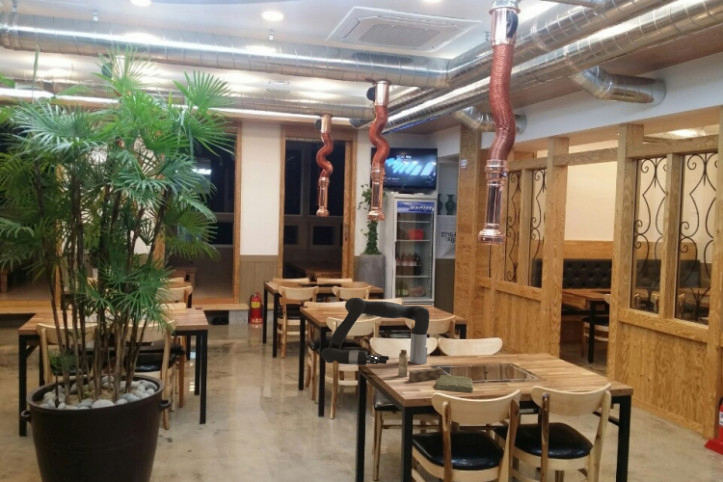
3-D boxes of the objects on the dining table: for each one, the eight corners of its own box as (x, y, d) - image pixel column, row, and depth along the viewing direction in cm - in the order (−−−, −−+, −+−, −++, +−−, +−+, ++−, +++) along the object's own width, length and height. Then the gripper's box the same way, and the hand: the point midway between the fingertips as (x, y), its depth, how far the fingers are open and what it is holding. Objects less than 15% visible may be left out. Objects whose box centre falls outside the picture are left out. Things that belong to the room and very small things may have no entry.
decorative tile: (471, 383, 333) (471, 376, 333) (472, 393, 313) (473, 386, 313) (435, 380, 335) (436, 373, 335) (434, 390, 315) (435, 383, 315)
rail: (437, 376, 342) (438, 367, 341) (442, 378, 338) (443, 369, 338) (408, 380, 330) (409, 371, 330) (413, 382, 327) (414, 372, 327)
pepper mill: (403, 374, 342) (404, 349, 342) (408, 376, 339) (409, 350, 338) (396, 375, 340) (397, 349, 339) (401, 377, 336) (403, 351, 335)
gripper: (355, 353, 336) (386, 355, 333) (360, 348, 350) (389, 350, 347) (355, 367, 336) (385, 369, 334) (360, 361, 350) (389, 364, 348)
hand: (387, 360), depth 340 cm, fingers open, 8 cm apart
